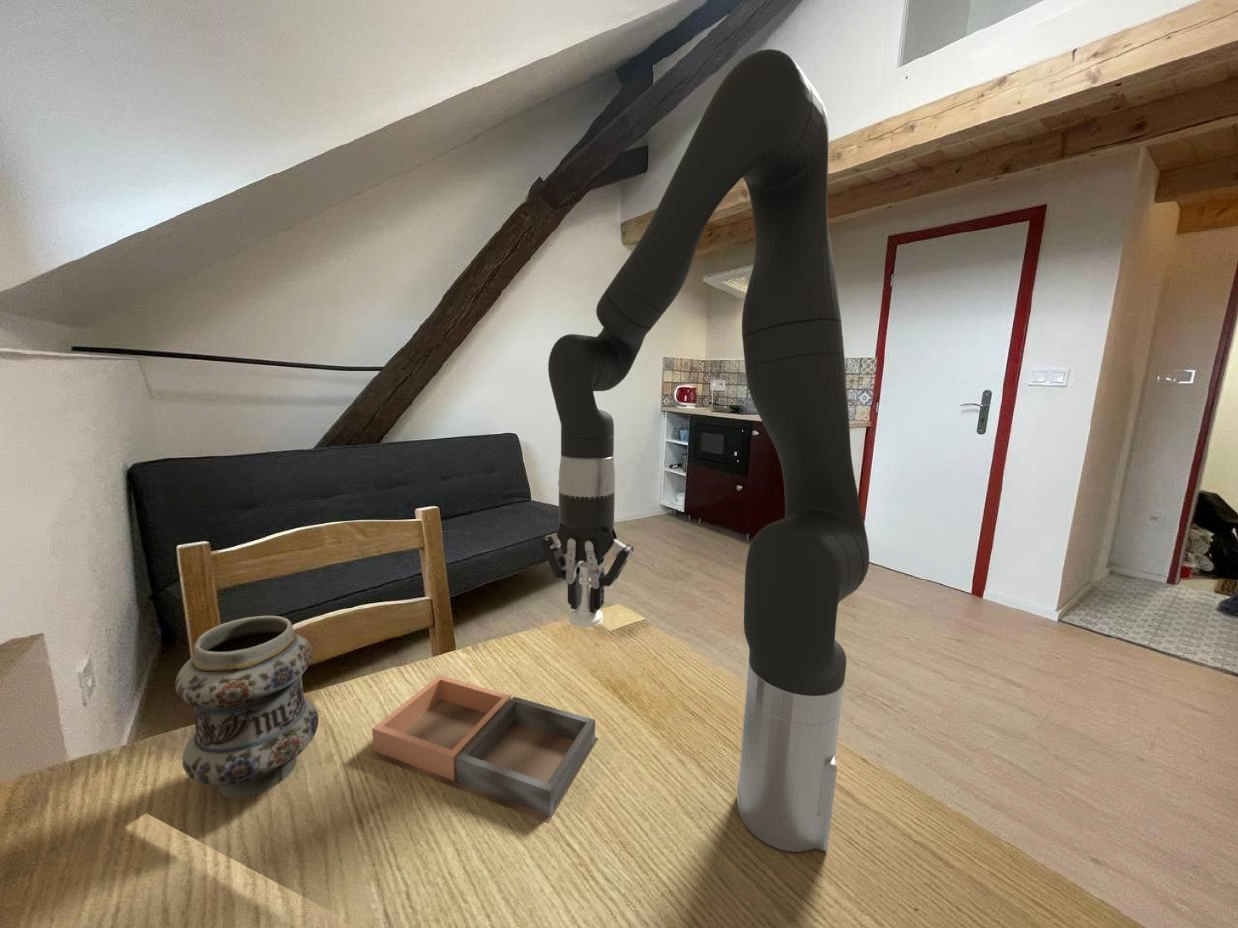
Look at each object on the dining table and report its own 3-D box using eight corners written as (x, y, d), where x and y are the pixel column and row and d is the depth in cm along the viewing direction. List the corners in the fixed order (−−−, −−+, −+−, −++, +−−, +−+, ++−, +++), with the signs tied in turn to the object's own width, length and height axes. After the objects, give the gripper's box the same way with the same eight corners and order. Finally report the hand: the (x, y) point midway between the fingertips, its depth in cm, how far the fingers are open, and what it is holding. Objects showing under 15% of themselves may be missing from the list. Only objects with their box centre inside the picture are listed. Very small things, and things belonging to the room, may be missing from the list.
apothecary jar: (330, 733, 64) (320, 601, 61) (309, 809, 53) (295, 653, 50) (215, 754, 60) (198, 614, 57) (166, 842, 49) (140, 674, 45)
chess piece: (605, 612, 73) (606, 546, 71) (600, 628, 68) (601, 558, 66) (571, 610, 73) (572, 544, 72) (564, 626, 68) (565, 556, 67)
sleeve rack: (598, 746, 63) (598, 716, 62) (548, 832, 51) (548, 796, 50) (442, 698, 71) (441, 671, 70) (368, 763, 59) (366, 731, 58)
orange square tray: (511, 715, 66) (511, 695, 66) (453, 780, 56) (453, 756, 55) (440, 694, 70) (439, 674, 70) (373, 750, 60) (372, 728, 59)
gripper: (644, 487, 69) (640, 606, 71) (553, 478, 73) (553, 590, 76) (626, 499, 62) (622, 630, 65) (527, 488, 66) (528, 611, 69)
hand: (585, 608), depth 70 cm, fingers closed on chess piece, 2 cm apart
